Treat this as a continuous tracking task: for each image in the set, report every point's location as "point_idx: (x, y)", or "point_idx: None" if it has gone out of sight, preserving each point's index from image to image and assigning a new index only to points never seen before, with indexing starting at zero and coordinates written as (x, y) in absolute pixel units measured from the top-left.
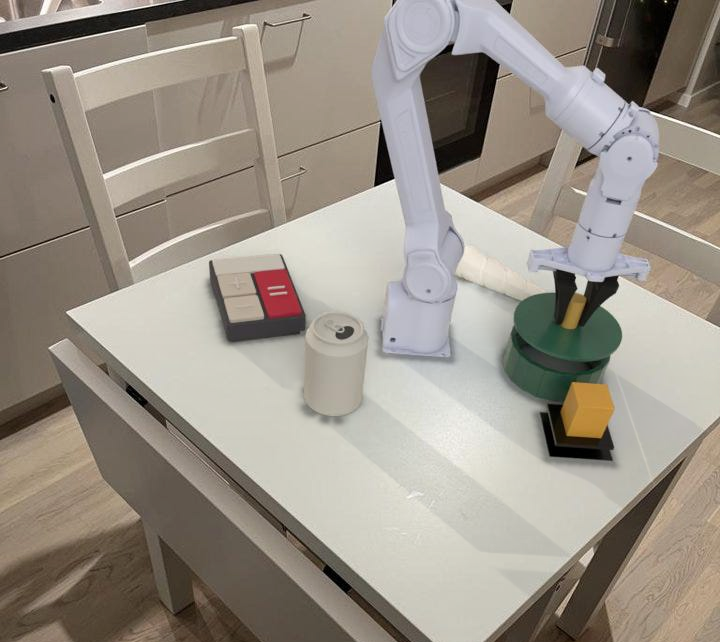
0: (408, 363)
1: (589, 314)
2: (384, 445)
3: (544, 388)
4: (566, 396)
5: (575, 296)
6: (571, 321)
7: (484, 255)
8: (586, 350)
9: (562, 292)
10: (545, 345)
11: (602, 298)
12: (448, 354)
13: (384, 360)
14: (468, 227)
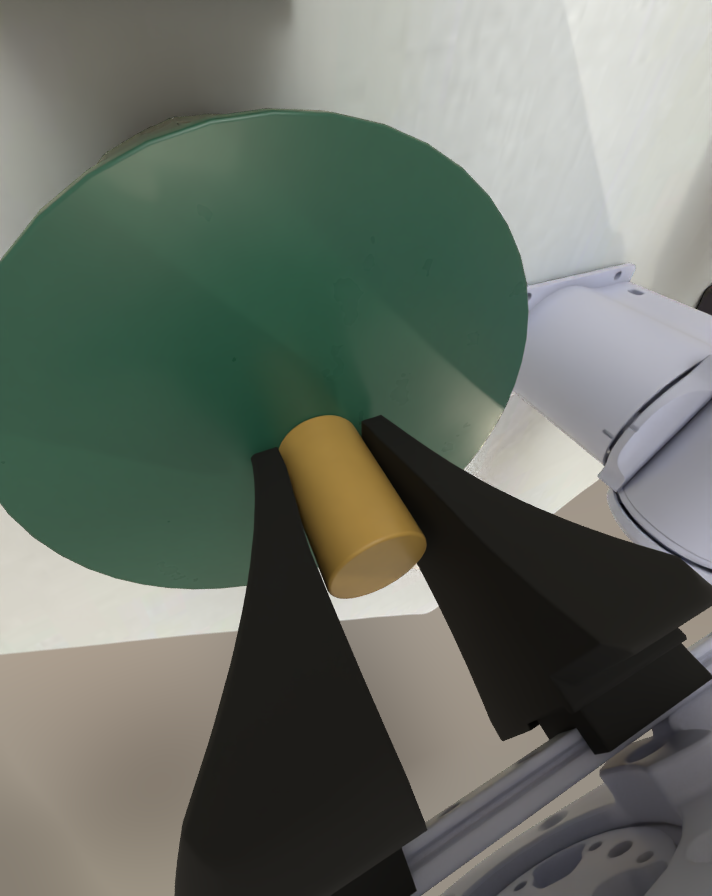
0: (596, 246)
1: (274, 512)
2: None
3: None
4: (190, 119)
5: (385, 572)
6: (336, 445)
7: (415, 566)
8: (210, 255)
9: (608, 548)
10: (461, 237)
11: (277, 669)
12: None
13: (635, 243)
14: (386, 593)
